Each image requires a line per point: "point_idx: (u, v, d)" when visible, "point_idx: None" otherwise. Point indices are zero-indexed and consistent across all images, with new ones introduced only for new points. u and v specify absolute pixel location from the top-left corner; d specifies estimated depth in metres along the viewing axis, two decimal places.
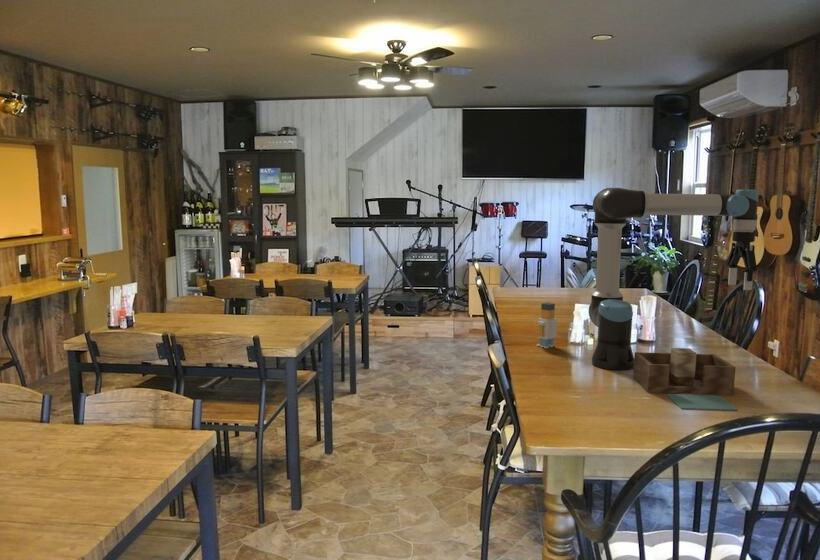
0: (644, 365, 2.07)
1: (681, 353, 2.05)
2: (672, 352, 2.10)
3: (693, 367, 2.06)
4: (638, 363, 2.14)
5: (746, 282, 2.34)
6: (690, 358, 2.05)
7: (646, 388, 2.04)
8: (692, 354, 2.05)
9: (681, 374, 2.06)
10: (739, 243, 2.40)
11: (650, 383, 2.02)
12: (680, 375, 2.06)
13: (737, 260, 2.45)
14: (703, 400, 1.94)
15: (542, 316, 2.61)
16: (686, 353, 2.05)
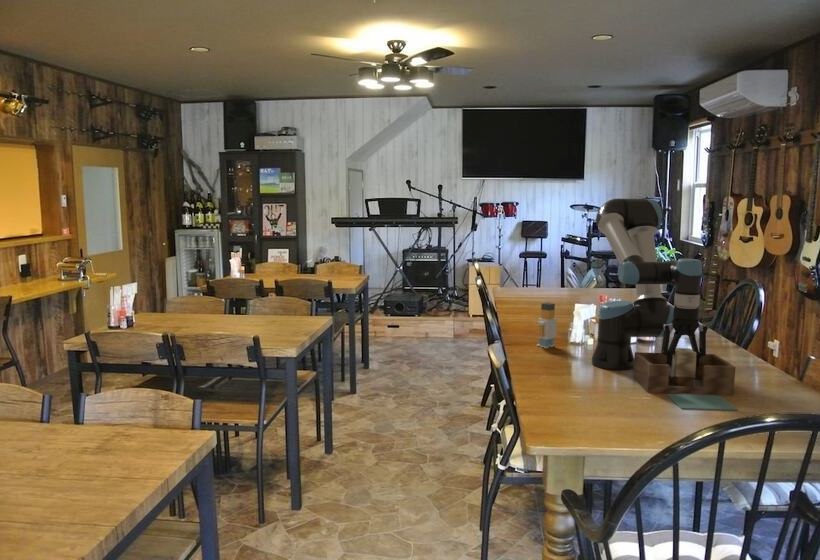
0: (644, 365, 2.07)
1: (681, 353, 2.05)
2: None
3: (693, 367, 2.06)
4: (638, 363, 2.14)
5: (669, 367, 2.10)
6: (690, 358, 2.05)
7: (646, 388, 2.04)
8: (692, 354, 2.05)
9: (681, 374, 2.06)
10: None
11: (650, 383, 2.02)
12: (680, 375, 2.06)
13: (692, 345, 2.07)
14: (703, 400, 1.94)
15: (542, 316, 2.61)
16: (686, 353, 2.05)
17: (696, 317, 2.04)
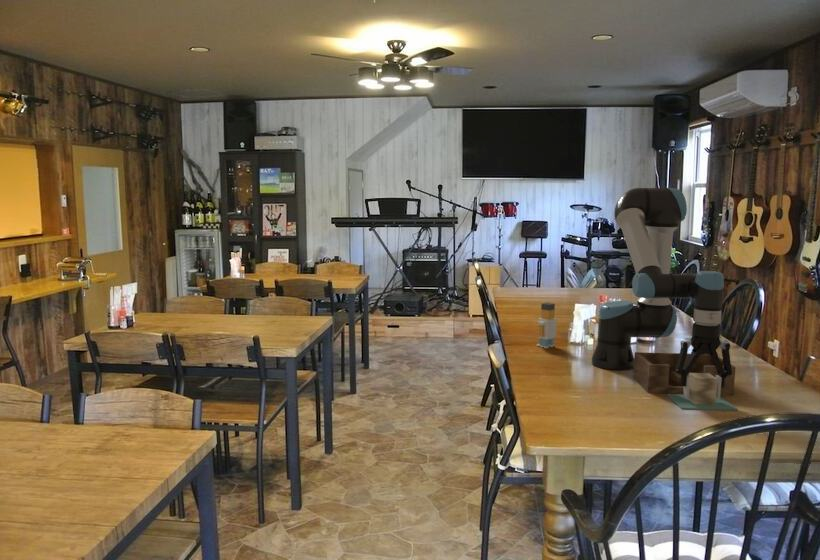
0: (644, 365, 2.07)
1: (700, 379, 1.89)
2: (690, 377, 1.94)
3: (713, 394, 1.89)
4: (638, 363, 2.14)
5: (684, 386, 1.93)
6: (710, 384, 1.89)
7: (646, 388, 2.04)
8: (712, 380, 1.89)
9: (700, 402, 1.90)
10: None
11: (650, 383, 2.02)
12: (699, 403, 1.90)
13: (716, 364, 1.91)
14: None
15: (542, 316, 2.61)
16: (706, 379, 1.89)
17: (717, 335, 1.87)
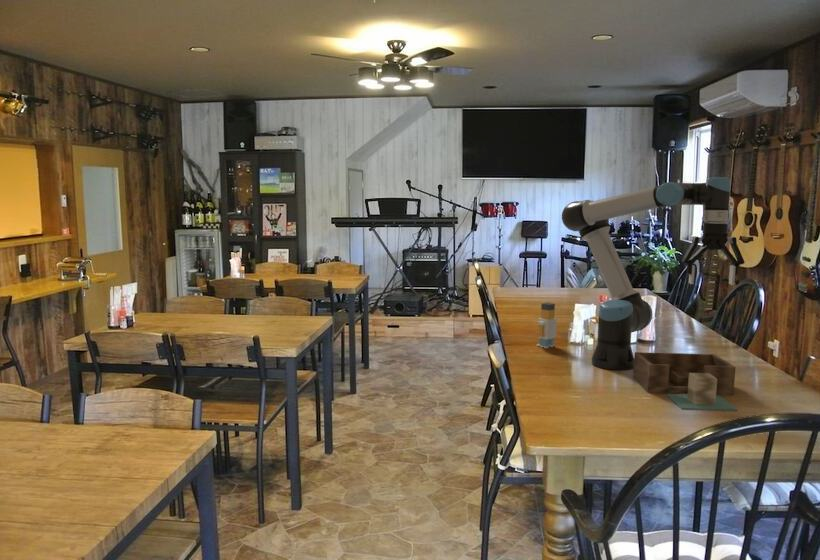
0: (644, 365, 2.07)
1: (700, 379, 1.89)
2: (690, 377, 1.94)
3: (713, 394, 1.89)
4: (638, 363, 2.14)
5: (689, 275, 2.22)
6: (710, 384, 1.89)
7: (646, 388, 2.04)
8: (712, 380, 1.89)
9: (700, 402, 1.90)
10: None
11: (650, 383, 2.02)
12: (699, 403, 1.90)
13: (728, 256, 2.19)
14: None
15: (542, 316, 2.61)
16: (706, 379, 1.89)
17: (725, 231, 2.16)
